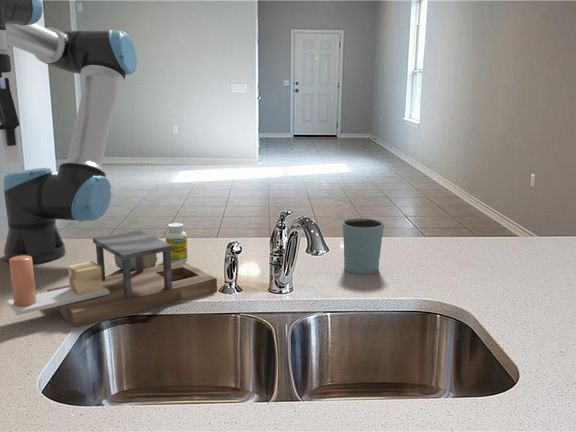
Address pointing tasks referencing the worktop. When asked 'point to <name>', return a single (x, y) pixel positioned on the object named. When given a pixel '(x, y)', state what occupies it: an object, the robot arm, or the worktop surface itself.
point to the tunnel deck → (137, 280)
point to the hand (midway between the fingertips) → (2, 157)
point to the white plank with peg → (27, 297)
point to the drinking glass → (362, 245)
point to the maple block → (85, 278)
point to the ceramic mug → (147, 261)
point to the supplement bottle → (177, 242)
